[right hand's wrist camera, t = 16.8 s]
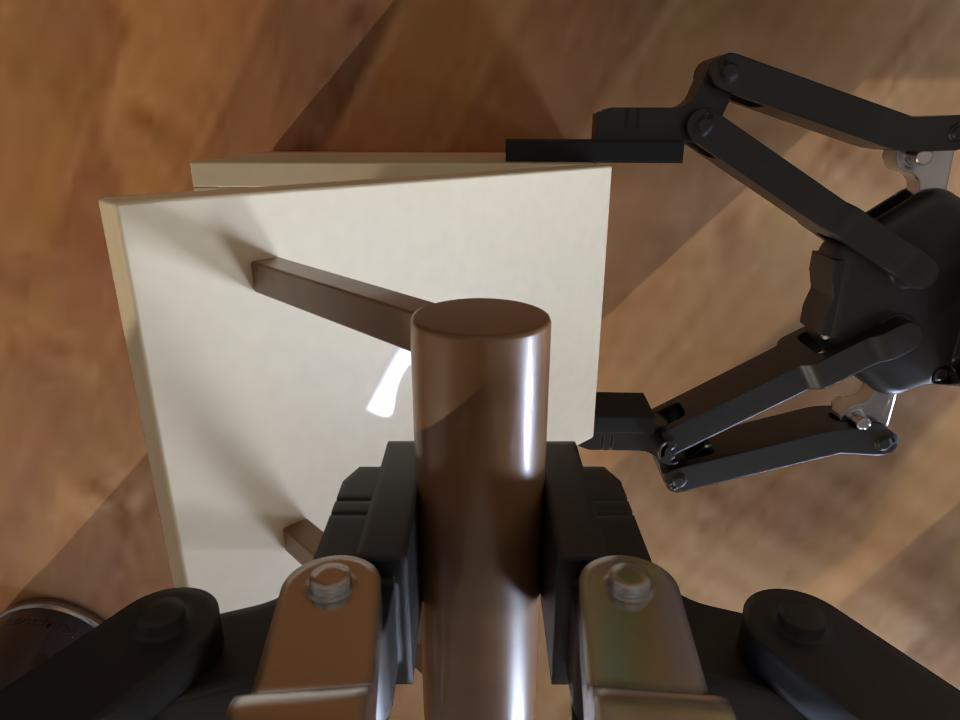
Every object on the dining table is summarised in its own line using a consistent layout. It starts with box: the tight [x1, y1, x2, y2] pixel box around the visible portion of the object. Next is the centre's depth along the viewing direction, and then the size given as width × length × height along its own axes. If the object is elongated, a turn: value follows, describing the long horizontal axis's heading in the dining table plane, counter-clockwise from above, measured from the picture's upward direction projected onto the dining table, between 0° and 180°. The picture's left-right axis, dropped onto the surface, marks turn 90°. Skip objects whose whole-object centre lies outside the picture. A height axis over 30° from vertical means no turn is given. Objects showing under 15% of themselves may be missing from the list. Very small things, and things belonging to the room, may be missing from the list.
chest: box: [190, 151, 597, 191], centre depth 29 cm, size 15×10×9 cm
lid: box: [99, 164, 612, 720], centre depth 17 cm, size 16×10×9 cm
